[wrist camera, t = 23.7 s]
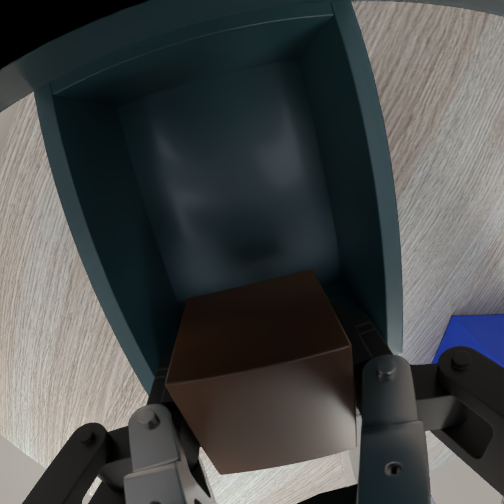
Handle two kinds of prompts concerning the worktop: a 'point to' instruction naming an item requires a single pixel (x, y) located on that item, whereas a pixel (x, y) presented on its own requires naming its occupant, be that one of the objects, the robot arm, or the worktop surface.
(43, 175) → the worktop surface
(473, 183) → the worktop surface
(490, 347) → the bracket
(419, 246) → the worktop surface
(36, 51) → the lid
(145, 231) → the box
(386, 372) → the robot arm
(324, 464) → the worktop surface
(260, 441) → the block
